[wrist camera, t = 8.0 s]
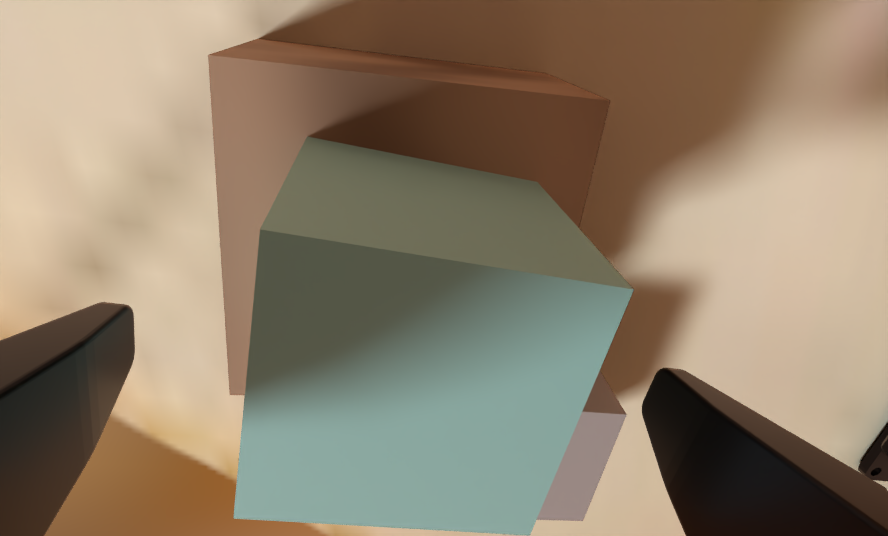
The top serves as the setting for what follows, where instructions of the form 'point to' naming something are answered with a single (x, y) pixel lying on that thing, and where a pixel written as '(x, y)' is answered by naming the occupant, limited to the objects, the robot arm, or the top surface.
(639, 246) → the top surface
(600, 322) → the teal cube
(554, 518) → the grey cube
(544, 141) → the walnut block
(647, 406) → the robot arm
